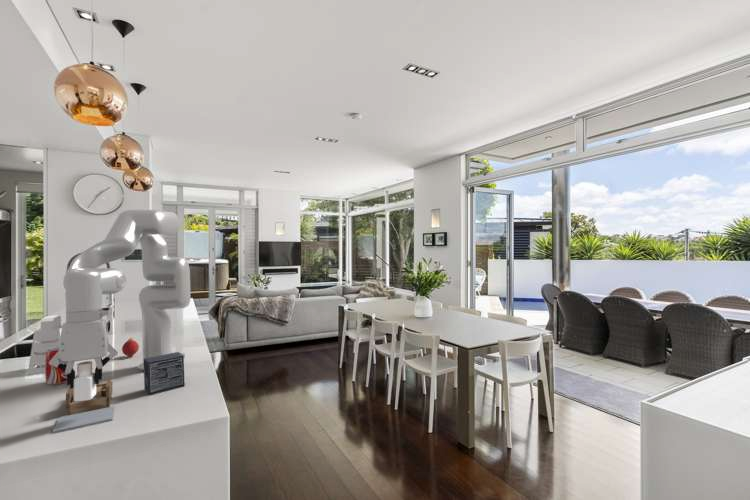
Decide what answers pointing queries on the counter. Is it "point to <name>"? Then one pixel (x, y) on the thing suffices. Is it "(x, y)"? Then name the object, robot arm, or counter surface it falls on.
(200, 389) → the counter surface
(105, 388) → the brown wooden frame
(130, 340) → the onion
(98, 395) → the block
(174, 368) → the small box
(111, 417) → the slate mat
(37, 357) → the grater
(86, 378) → the pepper shaker
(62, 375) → the soda can
